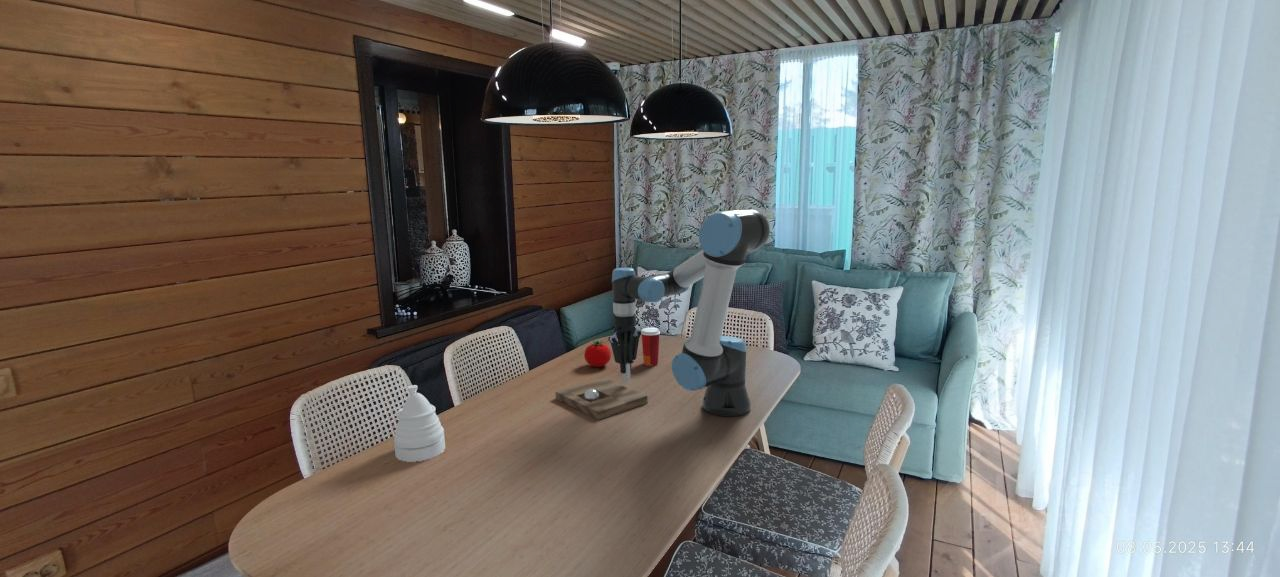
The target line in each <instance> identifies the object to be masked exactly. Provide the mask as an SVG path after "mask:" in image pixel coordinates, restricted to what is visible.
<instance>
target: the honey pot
mask: <svg viewBox="0 0 1280 577" xmlns="http://www.w3.org/2000/svg"><path fill="white" fill-rule="evenodd" d="M417 391H418V385H417V384H414V385H413V384H411V385H408V386H407V392H409V393H410V394H411V395H409V396H408V398H407V399H406V400H405V403H404V405H403V406H402V407H401V408H400V409H398V410H397V411H396V414H395V415H396V417H397V418H398V422H397V423H396V429H395V433H394V436H393V441H394V442H393V444H394V454H395V458H396V459H397V458H398V459H397V460H399V461H401V460H402V461H401V462H405V461H406V462H405V463H416V461H418V462H424V461H427V459H428V460H431V459H433V457H434V458H435V456H436V457H438V456H439V454H440V453H441V454H443V452H444V451H445V450H446V442H445V440H446V439H445V438H446V437H445V429H444V427H443V426H442V422H441V421H440V418H439V416H438V415H437V413H436V406H434V405H433V404H431V403H430V402H429V400H428V398H426V397H425V396H424V395H423V394H422V393H420V392H417ZM444 449H445V450H444ZM441 454H440V455H441ZM437 455H438V456H437ZM423 460H424V461H423Z"/></svg>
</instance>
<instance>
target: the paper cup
mask: <svg viewBox="0 0 1280 577" xmlns="http://www.w3.org/2000/svg"><path fill="white" fill-rule="evenodd" d="M640 332H641V345H642V346H641V347H642V359H643V365H644V366H646V367H655V366H658V364H659V352H660V351H659V349H660V348H659V347H660V334H661V331H660V328H657V327H645V328H642V329H641V331H640Z"/></svg>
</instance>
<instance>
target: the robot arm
mask: <svg viewBox="0 0 1280 577" xmlns="http://www.w3.org/2000/svg"><path fill="white" fill-rule="evenodd" d="M770 231H771V229H770V223H769V221H768V219H767V217H766V216H765V215H764V214H763V213H761V212H759V211H757V210H755V209H740V210H721V211H718V212H714V213H712V214H710V215H709V216H707V217H706V218H705V219H704V221H703V222H702V223H701V225H700V228H699V231H698V232H699V233H698V242H699V243H700V248H701V249H702V250H700V251H699V252H697V253H696V254H695V255H693V256H691V257H690V258H688V259H686V260H684V262H682V263H681V264H680V265H678V266H676V267H675V268H673V269H672V270H670V271H669V272H665V273H661V274H655V275H650V276H649V275H648V276H638V275H636V272H635V269H634V268H631V267H616V268H614V269H613V271H612V276H611V283H612V284H611V286H612V287H611V288H612V311H613V318H612V319H613V327H614V330H613V335H612V336H608V338H607V340H608V341H609V342H610V345H611V349H612V354H613V358H614V362H615V363H617V364H619V365H620V366H619V367H620V369H619V370H620V373H621V381H622V382H624V383H627V384H629V383H631V372H632V369H633V368H632V364H634V362H635V360H637V356H638V355H637V354H638V349H639V348H638V347H639V343H640V342H639V341H640V337H642V334H641V331H639V330H637V328H636V324H637V319H636V318H637V315H636V312H637V311H636V309H637V308H636V300H637V301H641V302H646V303H658V302H660V301H661V299H663V298H665V297H669V296H670V297H671V296H675V295H681V294H683V293H685V292H687V291H688V290H689V289H690V286H692V285H694V284H695V283H696V282H698V281H700V280H702V284H701V288H700V292H699V297H698V303H697V306H696V311H695V316H694V320H693V325H692V328H691V333H690V336H689V337H687V338H685V339H684V343H683V346H682V349H681V350H682V351H681V352H679V353H677V354H676V355H674V357H673V358H672V360H671V361H672V362H671V371H672V376H673V377H674V379H675V381H676V382H677V384H678V385H679V386H681V388H683V389H684V390H687V391H688V392H696V391H698V390H699V391H700V390H703V389H704V388H706V389H705V392H704V396H703V397H702V398H703V399H702V408H703V410H704V411H705V412H706V413H709V414H712V415H714V416H720V417H738V416H743V415H745V414H747V413H749V412H750V411H751V405H752V404H751V398H750V397H749V393H748V390H747V385H746V370H747V368H746V367H747V365H746V364H747V347H746V346H747V343H746V342H745V341H744V339H742V338H739V337H736V336H730V335H722V334H723V330H724V327H725V323H726V322H725V321H726V317H727V314H728V309H729V304H730V301H731V296H732V292H733V289H734V288H733V287H734V285H735V284H734V283H735V281H736V276H737V271H738V269H739V268H740V267H742V266H744V265H745V261H746V257H747V256H748V255H750V254H752V253H753V252H755V251H758V250H759V249H760V248H762V247H763V246H764V245H765V244H766V243H767V241H768V240H769V237H770V233H771V232H770Z"/></svg>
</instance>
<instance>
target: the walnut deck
mask: <svg viewBox="0 0 1280 577" xmlns="http://www.w3.org/2000/svg"><path fill="white" fill-rule="evenodd" d="M589 389H594V390H596V391H597V392H598V393H599V400H597V401H593V402H589V401H587V400H585V399H584V394H585V392H586V391H587V390H589ZM555 399H556V400H558V401H560V402H562V403H564V404H566V405H568V406H570V407H572V408H574V409H576V410H578V411H580V412H582V413H584V414H586V415H588V416H589V417H592V418H593V419H596V420H597V421H599V420H602V419H605V418H608V417H610V416H611V417H612V416H614V415H617V414H619V413H622V412H625V411H628V410H631V409H635V408H637V407H641V406H643V405H646V404H648V395H647V394H644V393H642V392H640V391H639V392H638V391H637V390H635V389H632V388H630V387H628V386H624V385H622V384H620V383H617V382H614V381H612V380H609V379H607V378H605V377H601V378H598V379H594V380H591V381H587V382H584V383H579V384H576V385H574V386H569V387H567V388H564V389H559V390H556V391H555Z"/></svg>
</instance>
